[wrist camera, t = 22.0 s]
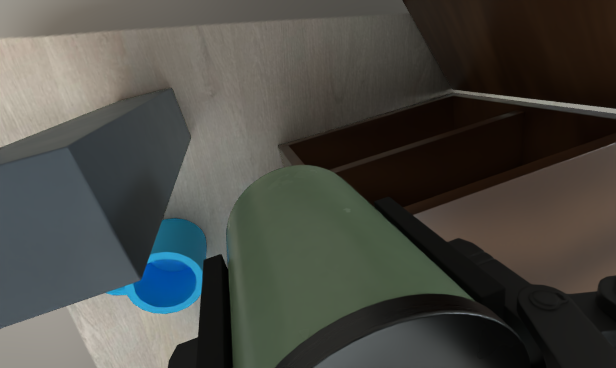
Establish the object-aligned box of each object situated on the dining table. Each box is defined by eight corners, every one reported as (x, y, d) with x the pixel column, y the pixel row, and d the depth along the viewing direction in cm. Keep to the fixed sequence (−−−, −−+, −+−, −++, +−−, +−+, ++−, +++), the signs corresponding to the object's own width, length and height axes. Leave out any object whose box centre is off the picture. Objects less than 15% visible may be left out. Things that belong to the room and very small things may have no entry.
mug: (196, 211, 42) (192, 243, 35) (213, 261, 45) (213, 300, 38) (98, 235, 40) (71, 275, 32) (123, 287, 43) (104, 333, 36)
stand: (117, 101, 35) (-135, 200, 10) (171, 87, 36) (66, 146, 11) (140, 151, 38) (-16, 334, 12) (191, 137, 39) (141, 281, 13)
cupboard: (277, 145, 42) (345, 239, 20) (454, 92, 46) (675, 121, 24) (308, 256, 49) (382, 414, 27) (458, 202, 53) (631, 302, 31)
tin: (201, 190, 14) (174, 412, 5) (351, 144, 15) (543, 261, 6) (249, 308, 17) (285, 584, 8) (372, 263, 18) (525, 461, 9)
